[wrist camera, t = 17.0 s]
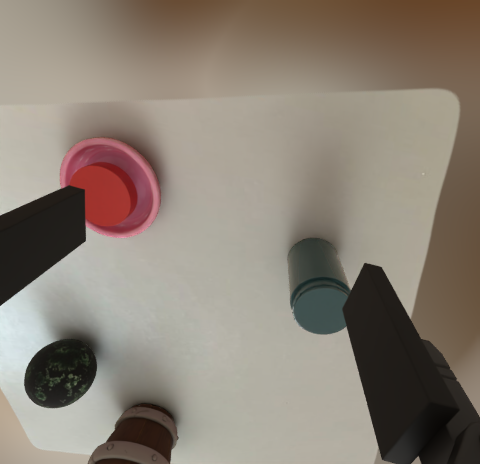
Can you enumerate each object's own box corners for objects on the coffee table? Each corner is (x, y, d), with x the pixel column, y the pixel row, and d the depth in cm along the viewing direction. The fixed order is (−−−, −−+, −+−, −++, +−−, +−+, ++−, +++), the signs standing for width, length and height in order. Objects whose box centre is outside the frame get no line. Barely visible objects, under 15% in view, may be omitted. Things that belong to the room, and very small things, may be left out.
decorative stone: (81, 318, 49) (37, 368, 40) (119, 358, 53) (87, 413, 44) (42, 337, 53) (-7, 388, 44) (80, 374, 56) (42, 428, 47)
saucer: (75, 216, 41) (60, 225, 38) (71, 124, 36) (54, 126, 33) (162, 237, 41) (154, 248, 38) (171, 147, 36) (162, 152, 33)
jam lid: (116, 231, 38) (109, 238, 36) (68, 192, 36) (57, 197, 35) (149, 192, 35) (142, 197, 33) (98, 148, 33) (88, 151, 32)
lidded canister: (314, 228, 38) (327, 273, 28) (348, 260, 39) (371, 314, 30) (277, 259, 40) (277, 310, 31) (310, 288, 42) (320, 346, 32)
